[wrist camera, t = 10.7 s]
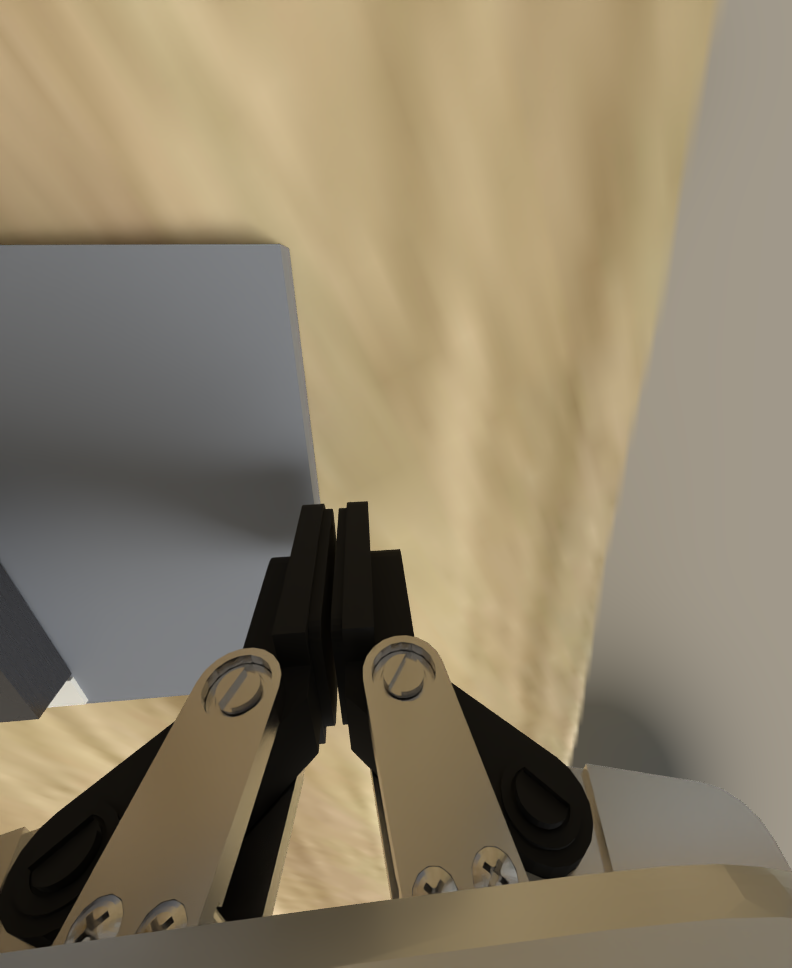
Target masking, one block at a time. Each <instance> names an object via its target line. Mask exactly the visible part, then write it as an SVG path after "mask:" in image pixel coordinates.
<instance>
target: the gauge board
mask: <svg viewBox="0 0 792 968" xmlns="http://www.w3.org/2000/svg"><path fill="white" fill-rule="evenodd" d="M311 504H320V497H319V489H318V481H317V473H316V464H315V456H314V448H313V440H312V432H311V424H310V415H309V407H308V399H307V391H306V383H305V375H304V366H303V358H302V350H301V342H300V334H299V326H298V317H297V309H296V301H295V293H294V285H293V276H292V268H291V260H290V252H289V248H287V247H285V246H283V245H281V244H176V245H0V564H1V566H2V567H3V569H4V570H5V572H6V573H7V575H8V576H9V578H10V580H11V581H12V583H13V584H14V586H15V587H16V589H17V590H18V592H19V593H20V595H21V596H22V598H23V599H24V601H25V603H26V604H27V606H28V607H29V609H30V610H31V612H32V613H33V615H34V616H35V618H36V619H37V621H38V623H39V624H40V626H41V627H42V629H43V630H44V632H45V633H46V635H47V636H48V638H49V639H50V641H51V643H52V644H53V646H54V647H55V649H56V650H57V652H58V653H59V655H60V656H61V658H62V659H63V661H64V663H65V664H66V666H67V667H68V669H69V670H70V672H71V673H72V674H71V676H70V677H69V678H68V680H67V681H66V682H65V684H64V685H63V687H62V688H61V689H60V691H59V692H58V693H57V695H56V696H55V697H54V699H53V700H52V702H51V703H50V704H49V706H48V707H59V706H71V705H82V704H87V703H99V702H111V701H122V700H134V699H145V698H157V697H169V696H180V695H190V693H191V691H192V689H193V687H194V686H195V684H196V682H197V681H198V679H199V678H200V676H201V675H202V674H203V672H204V671H205V670H206V669H207V668H208V667H209V666H210V665H211V664H213V663H214V662H215V661H216V660H218V659H219V658H221V657H223V656H224V655H226V654H228V653H230V652H233V651H236V650H239V649H243V646H244V643H245V640H246V636H247V633H248V630H249V627H250V623H251V620H252V617H253V613H254V610H255V607H256V603H257V600H258V597H259V594H260V590H261V587H262V584H263V580H264V577H265V574H266V570H267V567H268V564H269V561H270V559H271V558H273V557H288V556H290V554H291V550H292V546H293V542H294V537H295V533H296V529H297V525H298V520H299V516H300V512H301V508H302V505H311Z"/></svg>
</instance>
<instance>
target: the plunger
mask: <svg viewBox="0 0 792 968" xmlns="http://www.w3.org/2000/svg"><path fill="white" fill-rule="evenodd" d="M71 674H72V673H71V672H70V670H69V669H68V667H67V666H66V664H65V663H64V661H63V659H62V658H61V656H60V655H59V653H58V652H57V650H56V649H55V647H54V646H53V644H52V643H51V641H50V639H49V638H48V636H47V635H46V633H45V632H44V630H43V629H42V627H41V626H40V624H39V623H38V621H37V619H36V618H35V616H34V615H33V613H32V612H31V610H30V609H29V607H28V606H27V604H26V603H25V601H24V599H23V598H22V596H21V595H20V593H19V592H18V590H17V589H16V587H15V586H14V584H13V583H12V581H11V580H10V578H9V576H8V575H7V573H6V572H5V570H4V569H3V567H2V566H1V564H0V722H10V721H21V720H33V719H39V718H40V717H41V715H42V714H43V712H44V711H45V710H46V708H47V707H48V706H49V704H50V703H51V702H52V700H53V699H54V697H55V696H56V695H57V693H58V692H59V691H60V689H61V688H62V687H63V685H64V684H65V682H66V681H67V680H68V678H69V677H70V676H71Z"/></svg>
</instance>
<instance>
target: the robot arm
mask: <svg viewBox="0 0 792 968" xmlns="http://www.w3.org/2000/svg"><path fill="white" fill-rule="evenodd" d="M337 687H338V692H339V700H340V707H341V714H342V722H343V725H345V724H348V727H349V735H350V743H351V750H352V751H353V752H354V753H355V754H356V755H357V756H358V757H359V758H360V759H361V760H362V761H363V762H364V763H365V764H366V765H367V766H368V767H369V768H370V772H371V778H372V785H373V791H374V797H375V803H376V810H377V816H378V822H379V828H380V834H381V841H382V847H383V853H384V859H385V865H386V872H387V878H388V884H389V890H390V897H391V900H385V901H377V902H370V903H362V904H355V905H347V906H340V907H333V908H325V909H318V910H310V911H303V912H296V913H288V914H281V915H273V916H272V914H273V910H274V905H275V901H276V897H277V892H278V888H279V884H280V879H281V875H282V871H283V866H284V862H285V858H286V853H287V849H288V845H289V841H290V836H291V832H292V828H293V823H294V819H295V815H296V810H297V806H298V802H299V797H300V793H301V789H302V784H303V780H304V770H305V767H306V766H307V765H308V764H309V763H310V762H311V761H312V760H313V759H314V757H315V756H316V755H317V754H318V753H319V744H324V743H325V741H326V726H335V724H336V709H337ZM0 968H792V871H791V868H790V867H789V865H788V863H787V861H786V859H785V858H784V856H783V854H782V852H781V850H780V849H779V847H778V845H777V843H776V841H775V840H774V838H773V837H772V835H771V834H770V833H769V831H768V830H767V828H766V827H765V825H764V824H763V822H762V821H761V820H760V818H759V817H758V816H756V815H755V814H754V813H753V812H752V811H751V810H750V809H749V808H748V807H747V806H746V805H745V804H744V803H743V802H742V801H741V800H739V799H738V798H736V797H734V796H733V795H731V794H730V793H728V792H727V791H725V790H724V789H722V788H719V787H716V786H713V785H710V784H707V783H704V782H697V781H691V780H685V779H679V778H672V777H666V776H659V775H654V774H647V773H641V772H635V771H629V770H622V769H616V768H609V767H604V766H597V765H591V764H586V765H585V767H584V769H581V768H575V767H569V766H566V765H565V764H564V763H562V762H561V761H560V760H559V759H558V758H557V757H556V756H554V755H553V754H551V753H550V752H548V751H547V750H546V749H544V748H543V747H541V746H540V745H539V744H537V743H536V742H534V741H533V740H532V739H530V738H529V737H527V736H526V735H525V734H523V733H522V732H520V731H519V730H517V729H516V728H515V727H513V726H512V725H510V724H509V723H508V722H506V721H505V720H503V719H502V718H501V717H499V716H498V715H496V714H495V713H494V712H492V711H491V710H489V709H488V708H486V707H485V706H484V705H482V704H481V703H479V702H478V701H477V700H475V699H474V698H472V697H471V696H470V695H468V694H467V693H465V692H464V691H463V690H461V689H460V688H458V687H457V686H455V685H454V684H453V683H451V681H450V679H449V676H448V674H447V671H446V669H445V666H444V664H443V661H442V659H441V657H440V656H439V654H438V652H437V651H436V650H435V649H434V648H433V647H432V646H431V645H430V644H429V643H427V642H425V641H423V640H421V639H419V638H417V637H414V632H413V626H412V619H411V613H410V607H409V600H408V594H407V588H406V582H405V575H404V569H403V563H402V556H401V551H400V549H397V550H382V551H370V535H369V516H368V501H366V502H347V508H339V514H338V528H337V541H336V532H335V523H334V513H333V509H325V505H324V504H311V505H302V508H301V512H300V516H299V520H298V525H297V529H296V533H295V537H294V542H293V546H292V550H291V554H290V556H288V557H273V558H271V559H270V561H269V564H268V567H267V570H266V574H265V577H264V580H263V584H262V587H261V590H260V594H259V597H258V600H257V603H256V607H255V610H254V613H253V617H252V620H251V623H250V627H249V630H248V633H247V636H246V640H245V643H244V646H243V649H239V650H236V651H233V652H230V653H228V654H226V655H224V656H223V657H221V658H219V659H218V660H216V661H215V662H214V663H213V664H211V665H210V666H209V667H208V668H207V669H206V670H205V671H204V672H203V674H202V675H201V676H200V678H199V679H198V681H197V682H196V684H195V686H194V687H193V689H192V691H191V693H190V695H189V697H188V698H187V700H186V702H185V704H184V706H183V707H182V709H181V711H180V713H179V715H178V717H177V718H176V720H175V722H173V723H172V724H171V725H169V726H168V727H167V728H166V729H164V730H163V731H162V732H160V733H159V734H158V735H157V736H155V737H154V738H153V739H151V740H150V741H149V742H148V743H146V744H145V745H144V746H142V747H141V748H140V749H139V750H137V751H136V752H135V753H133V754H132V755H131V756H130V757H128V758H127V759H126V760H124V761H123V762H122V763H120V764H119V765H118V766H117V767H115V768H114V769H113V770H111V771H110V772H109V773H108V774H106V775H105V776H104V777H102V778H101V779H100V780H99V781H97V782H96V783H95V784H93V785H92V786H91V787H90V788H88V789H87V790H86V791H84V792H83V793H82V794H81V795H79V796H78V797H77V798H75V799H74V800H73V801H72V802H70V803H69V804H68V805H66V806H65V807H64V808H63V809H61V810H60V811H59V812H57V813H56V814H55V815H54V816H53V817H52V818H51V819H50V820H49V821H47V822H46V823H45V824H44V825H43V826H42V827H41V828H39V829H36V830H33V831H31V832H30V831H29V830H28V829H27V828H25V827H23V828H20V829H17V830H14V831H11V832H8V833H5V834H2V835H0Z"/></svg>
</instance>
